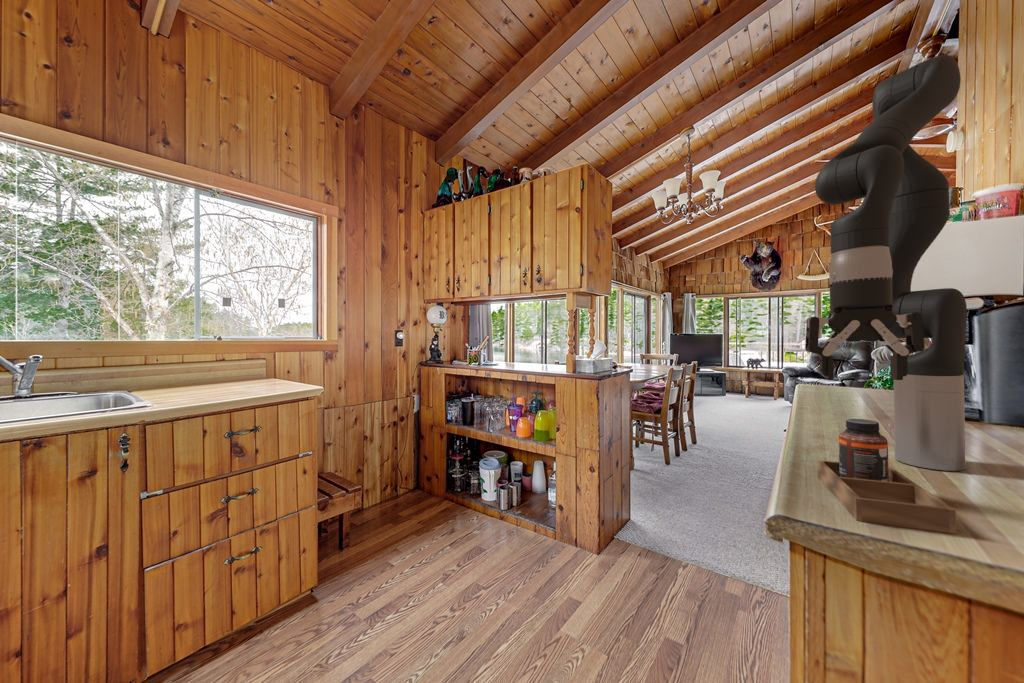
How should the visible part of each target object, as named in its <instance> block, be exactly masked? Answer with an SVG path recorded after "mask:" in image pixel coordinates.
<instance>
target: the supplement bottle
mask: <svg viewBox="0 0 1024 683" xmlns="http://www.w3.org/2000/svg"><path fill="white" fill-rule="evenodd" d="M845 427H846V429H845V430H843V431H842V432H840V433H839V436H838V456H839V457H838V462H839V470H840V477H847V478H857V479H867V480H877V481H887V482H889V470H888V466H889V443H888V439H887V438H886V437H885V436H884V435H882V434H881V432H880V422H878V421H876V420H872V419H864V418H847V419H845Z"/></svg>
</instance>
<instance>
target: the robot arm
mask: <svg viewBox="0 0 1024 683" xmlns="http://www.w3.org/2000/svg"><path fill="white" fill-rule="evenodd" d="M960 87H961V72H960V67H959V65H958V63H957V60H955V58H954V57H953V56H951V55H948V54H939V55H936V56H934V57H931V58H927V59H926V60H923V61H921V62H920V63H917V64H915V65H913V66H911V67H908V68H906V69H904V70H902V71H900V72H897V73H895V74H893V75H891V76H890V77H887V78H886V79H883V80H882V81H880V82H879V83H878V84H877V85H876V87H875V88H874V91H873V95H872V114H873V120H872V121H871V122H870V123H869V124H867V125H866V127H865V128H864V129H863V130H862V131H861V133H860V134H859V135H858V137H857V138H856V139H855V140H854V142H853V143H852V144H850V145H848V146H847V147H845V148H844V149H842V150H840V152H839V153H837V154H836V155H835V156H833V157H832V158H831V159H830V160H828V161H827V162H826V163H824V165H823V167H822V168H820V170H819V172H818V174H817V175H816V176H817V177H816V178H815V179H816V180H815V184H814V191H815V194H816V196H817V198H818V199H819V200H820V201H821V202H822V203H825V204H828V205H842V204H845V203H849V202H852V201H853V202H854V201H856V200H859V199H863V201H862V203H861V204H860V205H859V206H858V207H857V208H855V209H853V210H852V211H850V212H848V213H846V214H843V215H841V216H839V217H837V218H836V219H834V220H833V221H832V223H831V224H830V225H831V226H830V229H829V230H830V231H829V232H830V236H829V237H830V261H829V269H828V272H829V274H828V276H829V310H830V312H829V315H828V316H827V317H818V316H810V317H808V318H807V319H806V323H805V324H806V326H805V342H804V343H805V344H804V346H805V347H804V349H805V351H806V352H808V353H812V354H815V355H817V356H818V357H819V373H820V375H821V376H823V377H824V379H826V380H834V374H835V373H834V357H833V356H832V354H833V353H834V352H836V349H838V348H839V347H841V345H842V344H843V343H844V342H847V343H853V342H854V343H857V342H878V343H880V345H881V346H884V347H885V348H886V349H887V350H888V351H889V353H891V355H889V358H890V359H889V361H890V362H889V363H890V367H889V368H890V379H891V380H893V410H894V411H893V415H894V417H893V418H894V422H893V423H894V458H895V460H897V461H898V462H900V463H903V464H906V465H911V466H914V467H919V468H924V469H930V470H937V471H951V472H952V471H955V472H957V471H958V472H959V471H963V470H965V469H966V423H965V422H966V419H965V418H966V415H965V414H966V413H965V412H966V411H965V379H964V378H965V375H964V372H965V370H964V368H965V367H964V366H965V358H966V333H967V332H966V331H967V320H968V319H967V318H968V316H967V315H968V313H967V312H968V309H967V302H966V299H965V296H964V295H963V293H962V291H960V290H958V289H956V288H953V287H952V288H951V287H947V288H946V287H945V288H936V289H935V288H934V289H933V288H932V289H925V290H913V291H912V289H911V288H912V287H911V286H912V281H913V276H914V274H915V269H916V268H917V266H918V263H919V261H921V258H922V257H923V255H924V254H925V253H926V251H927V250H928V249H929V248H930V246H931V245H932V244H933V243H934V241H935V240H936V239H937V237H938V236H939V234H940V233H941V232H942V230H943V229H944V227H945V225H946V224H947V222H948V221H949V218H950V191H949V190H950V187H949V181H948V179H947V177H946V176H945V175H944V173H943V172H942V171H941V170H939V169H938V168H937V167H936V166H935V165H934V164H932V163H931V162H930V161H929V160H927V159H926V158H924V157H922V155H920V154H919V153H918V152H917V151H916V150H915V149H914V148H913V147H912V146H911V145H910V143H911V141H912V140H913V139H914V138H915V136H916V135H917V134H918V133H919V132H920V131H921V130H922V129H923V128H924V127H926V125H928V124H929V123H930V122H931V121H932V120H933V119H935V117H937V116H938V115H939V114H940V113H941V112H942V111H944V109H946V108H947V107H948V106H949V105H950V104H952V102H953V101H954V100H955V99H956V97H957V95H958V94H959V91H960V89H961V88H960ZM825 325H828V326H829V328H830V329H831V330H832V331H833V332H832V334H831V335H830V336H829V337H828V338H827V339H826V341H825V343H824V344H823V345H822V346H819V336H820V334H819V332H820V331H821V330H823V329H824V327H825ZM899 339H905V345H904V344H903V343H902V342H901V341H900V340H899ZM925 339H931V343H930V345H929V346H928V347H927V348H925V347H926V346H925Z"/></svg>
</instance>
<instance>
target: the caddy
mask: <svg viewBox="0 0 1024 683" xmlns="http://www.w3.org/2000/svg"><path fill="white" fill-rule="evenodd" d="M888 470H889V482H887V481H877V480H867V479H857V478H847V477H840V470H839V461H831V460H821V459H820V460H819V459H817V478H818V479H819V480H820V481H821V482H822V483H823V484H824V485H825V487H826V488H827V489H828V490H829V491H830V493H832V494H833V496H834V497H835V498H836V499H837V500H838V501H839V502H840V503H841V505H842V506H843V508H845V509H846V511H848V513H849V514H850V515H851V516H852V518H854V519H855V521H858V522H865V523H871V524H881V525H887V526H895V527H902V528H907V529H908V528H911V529H915V530H926V531H934V532H937V533H939V532H940V533H947V534H954V535H956V534H957V523H956V522H957V520H956V519H957V518H956V515H957V514H956V513H957V512H956V509H955V508H953V507H951V505H948V504H947V503H945V502H944V501H943V500H941V499H940V498H938V497H937V496H935V495H933V494H932V493H931V492H929V491H927V490H926V489H924V488H923V487H922V486H920V485H918V484H917V483H916V482H914V481H912V480H911V479H909V478H908V477H907V476H905V475H904V474H902V473H900V472H899V471H897V470H896V469H894V468H893V467H892V466H889V465H888Z"/></svg>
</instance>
